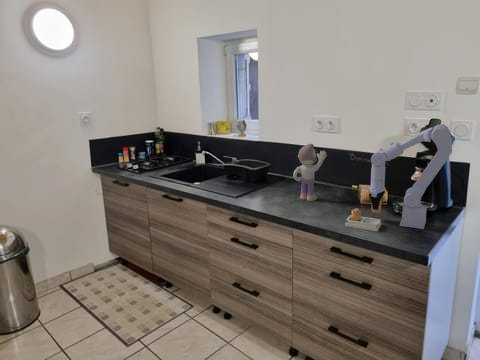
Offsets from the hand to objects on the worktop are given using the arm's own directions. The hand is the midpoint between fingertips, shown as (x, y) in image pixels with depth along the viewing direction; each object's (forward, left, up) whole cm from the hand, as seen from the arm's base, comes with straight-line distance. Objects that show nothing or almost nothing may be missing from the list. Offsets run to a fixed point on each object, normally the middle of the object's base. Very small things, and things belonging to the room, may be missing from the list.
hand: (376, 207), depth 164 cm
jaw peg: (0, 0, -2) cm, 2 cm away
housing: (+4, +9, -6) cm, 11 cm away
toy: (+37, -16, -6) cm, 41 cm away
